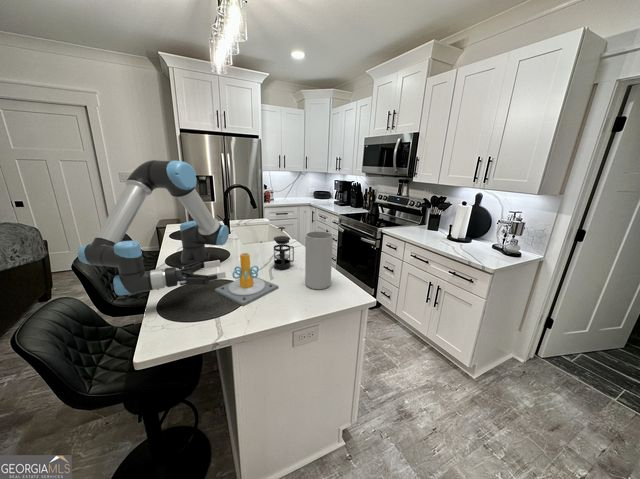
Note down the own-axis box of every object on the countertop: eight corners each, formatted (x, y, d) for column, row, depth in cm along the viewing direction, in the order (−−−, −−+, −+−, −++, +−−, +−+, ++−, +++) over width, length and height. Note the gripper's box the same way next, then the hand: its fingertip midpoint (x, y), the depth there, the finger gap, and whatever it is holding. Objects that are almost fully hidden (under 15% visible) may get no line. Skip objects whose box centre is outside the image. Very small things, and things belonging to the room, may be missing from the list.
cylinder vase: (328, 291, 118) (330, 239, 110) (302, 288, 120) (302, 237, 112) (332, 279, 129) (334, 232, 122) (308, 277, 131) (308, 230, 124)
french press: (273, 271, 138) (272, 229, 131) (272, 264, 147) (270, 225, 140) (294, 269, 141) (294, 229, 134) (292, 263, 150) (292, 224, 143)
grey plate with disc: (214, 291, 115) (214, 287, 114) (250, 276, 130) (250, 272, 130) (243, 306, 104) (243, 301, 103) (278, 288, 119) (278, 283, 119)
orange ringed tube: (264, 282, 120) (263, 252, 115) (251, 292, 110) (250, 260, 106) (242, 278, 123) (240, 249, 119) (228, 287, 114) (225, 256, 109)
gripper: (166, 274, 110) (218, 266, 120) (166, 301, 90) (228, 288, 100) (164, 258, 108) (217, 251, 118) (162, 282, 87) (227, 271, 98)
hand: (222, 268), depth 109 cm, fingers open, 13 cm apart
